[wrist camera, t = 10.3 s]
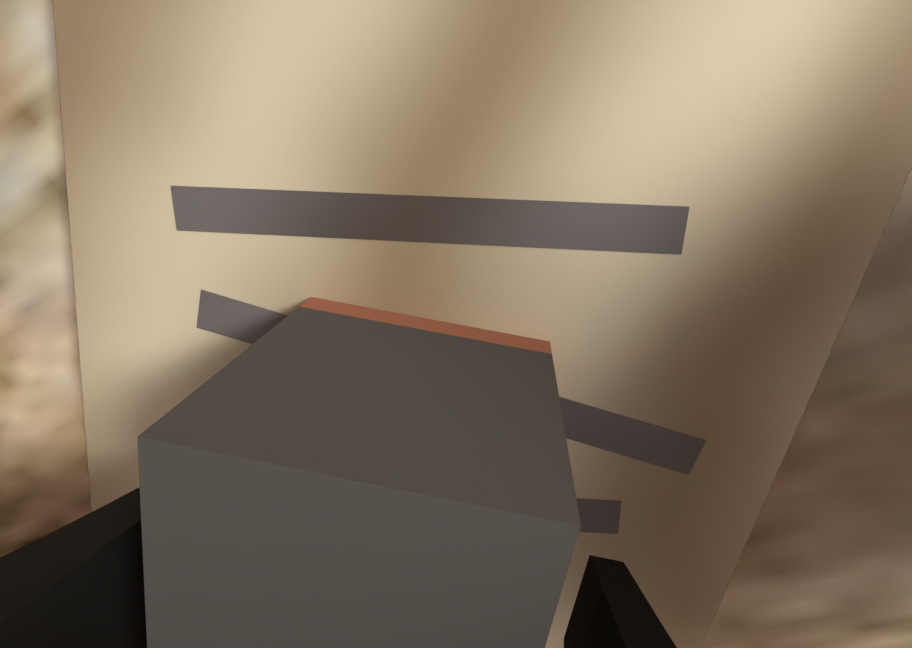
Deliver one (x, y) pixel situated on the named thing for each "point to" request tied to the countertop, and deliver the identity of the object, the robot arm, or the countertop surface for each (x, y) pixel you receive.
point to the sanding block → (361, 491)
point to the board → (499, 221)
